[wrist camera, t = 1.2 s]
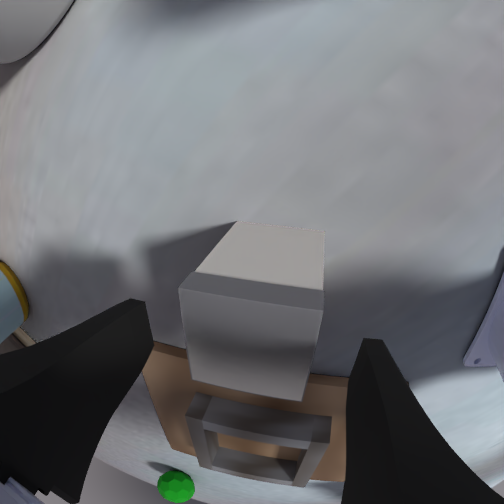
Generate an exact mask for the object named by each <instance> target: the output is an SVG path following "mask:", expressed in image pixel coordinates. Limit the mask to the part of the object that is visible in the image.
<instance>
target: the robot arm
mask: <svg viewBox="0 0 504 504" xmlns="http://www.w3.org/2000/svg"><path fill="white" fill-rule="evenodd" d="M153 347H154V342H153V337H152V333H151V329H150V324H149V320H148V315H147V310H146V305H145V302H143V301H139V300H135V299H128V300H126V301H124V302H122V303H119V304H117V305H115V306H113V307H111V308H109V309H108V310H106V311H104V312H102V313H100V314H98V315H96V316H94V317H92V318H90V319H88V320H86V321H84V322H83V323H81V324H79V325H77V326H75V327H72V328H70V329H68V330H66V331H64V332H62V333H60V334H58V335H56V336H54V337H51V338H49V339H46V340H44V341H42V342H39V343H36V344H33V345H31V346H28V347H25V348H21V349H18V350H14V351H11V352H7V353H3V354H0V504H44V503H43V502H42V501H40V500H39V499H38V498H37V497H36V496H34V495H35V494H36V492H37V491H38V490H39V491H40V492H41V493H43V494H44V495H46V496H47V495H48V494H49V492H50V491H52V492H53V493H55V494H56V495H58V496H59V497H61V498H62V499H64V500H65V501H67V502H68V503H70V504H76V503H78V502H79V500H80V495H81V492H82V488H83V484H84V481H85V477H86V474H87V471H88V468H89V465H90V463H91V460H92V457H93V455H94V453H95V450H96V448H97V445H98V443H99V441H100V439H101V436H102V434H103V432H104V430H105V428H106V426H107V424H108V422H109V420H110V418H111V417H112V415H113V413H114V412H115V410H116V409H117V407H118V406H119V404H120V403H121V401H122V400H123V398H124V397H125V395H126V394H127V392H128V391H129V389H130V388H131V386H132V385H133V383H134V382H135V380H136V379H137V377H138V376H139V374H140V373H141V371H142V370H143V368H144V366H145V364H146V362H147V360H148V358H149V356H150V354H151V352H152V349H153ZM463 362H464V365H465V366H467V367H479V366H497V367H498V369H499V372H500V374H501V376H502V379H503V381H504V273H503V275H502V278H501V281H500V283H499V286H498V288H497V291H496V293H495V296H494V298H493V300H492V303H491V305H490V307H489V309H488V312H487V314H486V316H485V318H484V320H483V322H482V324H481V326H480V328H479V330H478V332H477V334H476V336H475V338H474V340H473V342H472V344H471V346H470V348H469V349H468V351H467V353H466V355H465V357H464V359H463ZM341 504H504V498H503V497H502V496H500V495H499V494H498V493H496V492H495V491H494V490H493V489H491V488H490V487H489V486H488V485H487V484H486V483H485V482H484V481H482V480H481V479H480V478H479V477H478V476H477V475H476V474H475V473H474V472H473V471H472V470H471V469H470V468H469V467H468V466H467V465H466V464H465V463H464V461H463V460H462V459H461V458H460V457H459V456H458V455H457V454H456V453H455V452H454V450H453V449H452V448H451V447H450V446H449V444H448V443H447V442H446V441H445V439H444V438H443V437H442V435H441V434H440V433H439V432H438V430H437V429H436V428H435V426H434V425H433V423H432V422H431V421H430V419H429V418H428V416H427V415H426V413H425V412H424V410H423V408H422V407H421V405H420V404H419V402H418V401H417V399H416V397H415V396H414V394H413V392H412V391H411V389H410V387H409V386H408V384H407V382H406V381H405V379H404V377H403V376H402V374H401V372H400V370H399V368H398V367H397V365H396V363H395V361H394V360H393V358H392V356H391V354H390V352H389V350H388V349H387V347H386V345H385V343H384V342H383V340H378V339H368V338H363V341H362V344H361V347H360V350H359V353H358V356H357V359H356V361H355V364H354V367H353V370H352V372H351V375H350V377H349V380H348V387H347V399H346V473H345V483H344V489H343V495H342V501H341Z"/></svg>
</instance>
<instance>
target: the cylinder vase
mask: <svg viewBox="0 0 504 504" xmlns="http://www.w3.org/2000/svg"><path fill="white" fill-rule="evenodd" d="M73 1H74V0H0V64H5V63H12V62H15V61H17V60H19V59H21V58H23V57H25V56H26V55H28V54H29V53H30V52H32V51H33V50H34V49H35V48H36V47H37V46H38V45H39V44H40V43H41V42H42V41H43V40H44V39H45V38H46V37H47V36H48V35H49V34H50V33H51V31H52V30H53V29H54V28H55V27H56V25H57V24H58V23H59V21H60V20H61V19H62V17H63V16H64V14H65V13H66V12H67V10H68V9H69V7H70V6H71V4H72V3H73Z"/></svg>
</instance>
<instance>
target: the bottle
mask: <svg viewBox="0 0 504 504" xmlns="http://www.w3.org/2000/svg"><path fill="white" fill-rule="evenodd" d="M28 311H29V305H28V301H27V297H26V294H25V292H24V289H23V287H22V286H21V284H20V282H19V280H18V278H17V277H16V275H15V274H14V272H13V271H12V270H11V269H10V268H9V266H7V265H6V264H5V263H3V262H0V344H1V343H2V342H3V341H4V340H5V339H6V338H7V337H8V336H9V335H10V334H11V333H13V332H14V331H15V330H16V329H17V328H18V327H19V326H20V325H22V324H23V322H25V321H26V319H27V317H28Z"/></svg>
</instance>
